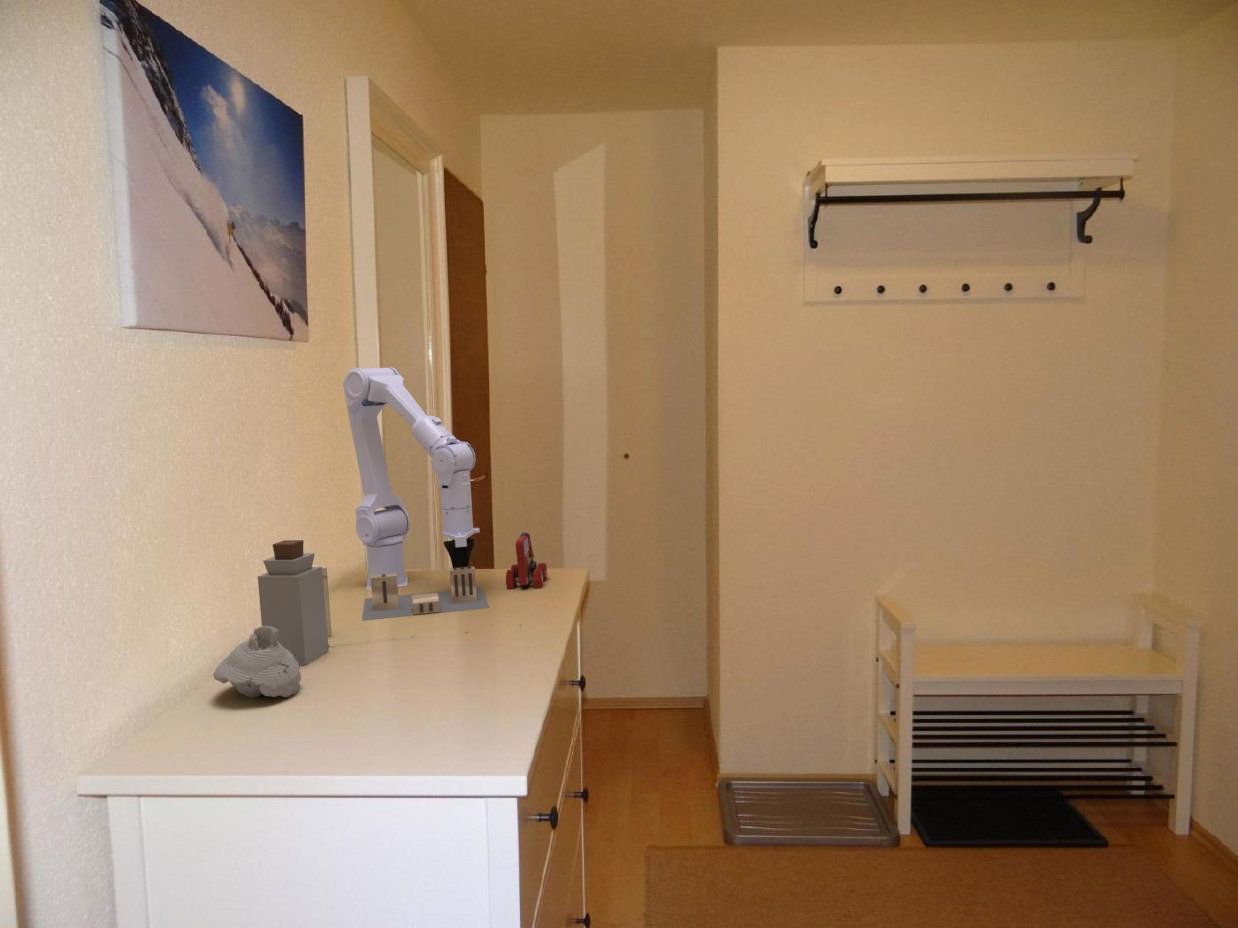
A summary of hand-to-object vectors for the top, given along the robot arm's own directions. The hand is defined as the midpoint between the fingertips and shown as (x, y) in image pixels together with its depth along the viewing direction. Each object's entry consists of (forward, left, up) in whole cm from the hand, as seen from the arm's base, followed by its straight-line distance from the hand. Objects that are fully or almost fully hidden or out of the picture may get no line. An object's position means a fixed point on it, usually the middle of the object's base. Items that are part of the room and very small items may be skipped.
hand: (461, 577), depth 175 cm
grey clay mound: (+44, -30, -4) cm, 53 cm away
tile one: (+6, -14, -3) cm, 16 cm away
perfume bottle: (+29, -27, -4) cm, 40 cm away
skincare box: (+21, -26, -4) cm, 34 cm away
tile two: (+7, -7, -2) cm, 10 cm away
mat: (+5, -7, -4) cm, 9 cm away
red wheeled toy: (-3, +13, -4) cm, 14 cm away
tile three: (+6, 0, -3) cm, 7 cm away
